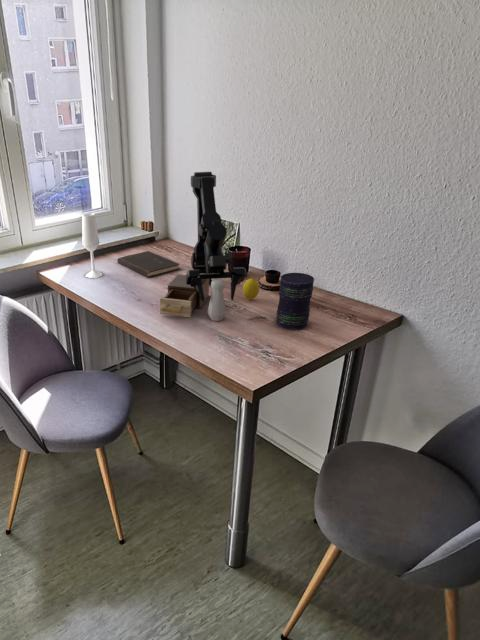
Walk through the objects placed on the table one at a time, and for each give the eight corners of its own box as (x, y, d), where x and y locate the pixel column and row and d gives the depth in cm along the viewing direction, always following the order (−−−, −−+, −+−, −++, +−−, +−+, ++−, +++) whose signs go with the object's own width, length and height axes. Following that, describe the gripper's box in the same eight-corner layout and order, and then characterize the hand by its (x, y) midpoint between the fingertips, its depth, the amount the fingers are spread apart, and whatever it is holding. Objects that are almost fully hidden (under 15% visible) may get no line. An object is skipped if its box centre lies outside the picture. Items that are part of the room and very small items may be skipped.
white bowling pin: (206, 315, 166) (207, 277, 159) (223, 314, 166) (225, 276, 160) (209, 322, 161) (210, 284, 154) (227, 321, 161) (229, 283, 155)
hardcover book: (148, 255, 222) (148, 250, 221) (179, 269, 206) (179, 263, 205) (117, 263, 215) (117, 258, 214) (147, 277, 199) (146, 272, 197)
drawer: (186, 322, 160) (186, 307, 157) (155, 318, 163) (155, 303, 160) (198, 305, 171) (199, 290, 169) (170, 301, 175) (169, 287, 172)
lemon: (259, 298, 177) (261, 276, 173) (255, 304, 173) (257, 281, 168) (244, 296, 179) (246, 274, 175) (240, 301, 175) (241, 280, 170)
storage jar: (302, 332, 153) (308, 286, 145) (271, 326, 157) (275, 280, 149) (311, 320, 160) (318, 275, 152) (281, 314, 164) (286, 270, 156)
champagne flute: (105, 273, 205) (100, 213, 192) (95, 278, 200) (89, 217, 187) (92, 271, 208) (86, 211, 195) (82, 276, 203) (75, 215, 190)
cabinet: (200, 308, 171) (200, 288, 167) (167, 304, 175) (167, 285, 171) (208, 296, 180) (209, 277, 177) (177, 292, 184) (177, 274, 180)
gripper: (187, 244, 155) (191, 291, 151) (247, 241, 155) (252, 288, 151) (184, 261, 166) (187, 305, 162) (240, 259, 166) (245, 303, 162)
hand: (217, 300), depth 159 cm, fingers open, 9 cm apart
